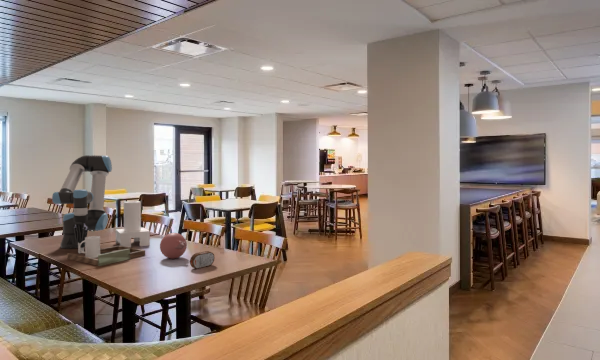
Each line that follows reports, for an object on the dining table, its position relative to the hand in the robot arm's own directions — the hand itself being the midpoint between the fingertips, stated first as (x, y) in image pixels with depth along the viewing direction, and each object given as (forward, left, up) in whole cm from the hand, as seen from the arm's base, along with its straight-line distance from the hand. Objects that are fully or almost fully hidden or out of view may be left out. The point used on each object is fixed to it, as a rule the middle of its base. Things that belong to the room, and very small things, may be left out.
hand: (81, 252), depth 243 cm
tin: (+83, +19, -2) cm, 85 cm away
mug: (+9, 0, -2) cm, 9 cm away
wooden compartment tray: (+18, +6, -2) cm, 19 cm away
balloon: (+56, +24, -2) cm, 61 cm away
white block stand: (-2, +38, -2) cm, 38 cm away
